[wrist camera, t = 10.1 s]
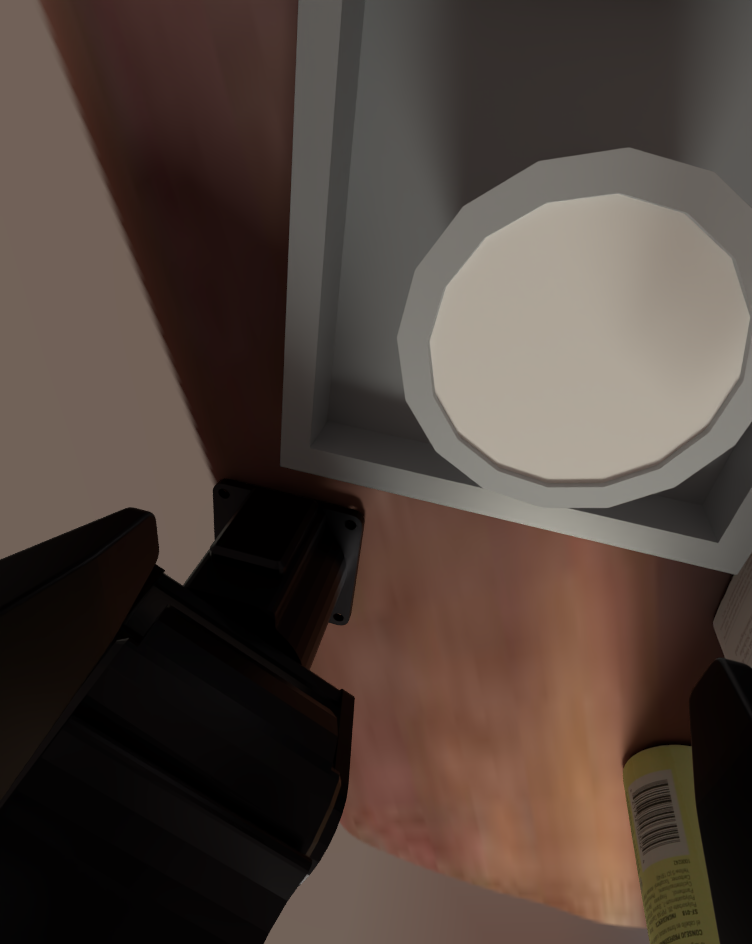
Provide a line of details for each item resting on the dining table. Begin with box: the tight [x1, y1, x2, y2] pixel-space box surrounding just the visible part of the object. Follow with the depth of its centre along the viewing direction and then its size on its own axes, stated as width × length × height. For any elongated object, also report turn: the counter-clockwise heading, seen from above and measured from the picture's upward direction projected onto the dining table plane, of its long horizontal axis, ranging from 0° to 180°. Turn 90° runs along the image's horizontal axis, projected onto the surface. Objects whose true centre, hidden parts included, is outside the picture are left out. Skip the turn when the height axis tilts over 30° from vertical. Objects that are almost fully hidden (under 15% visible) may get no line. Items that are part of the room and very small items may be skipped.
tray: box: [280, 0, 752, 575], centre depth 16 cm, size 15×15×3 cm
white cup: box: [397, 147, 752, 508], centre depth 14 cm, size 7×7×7 cm
